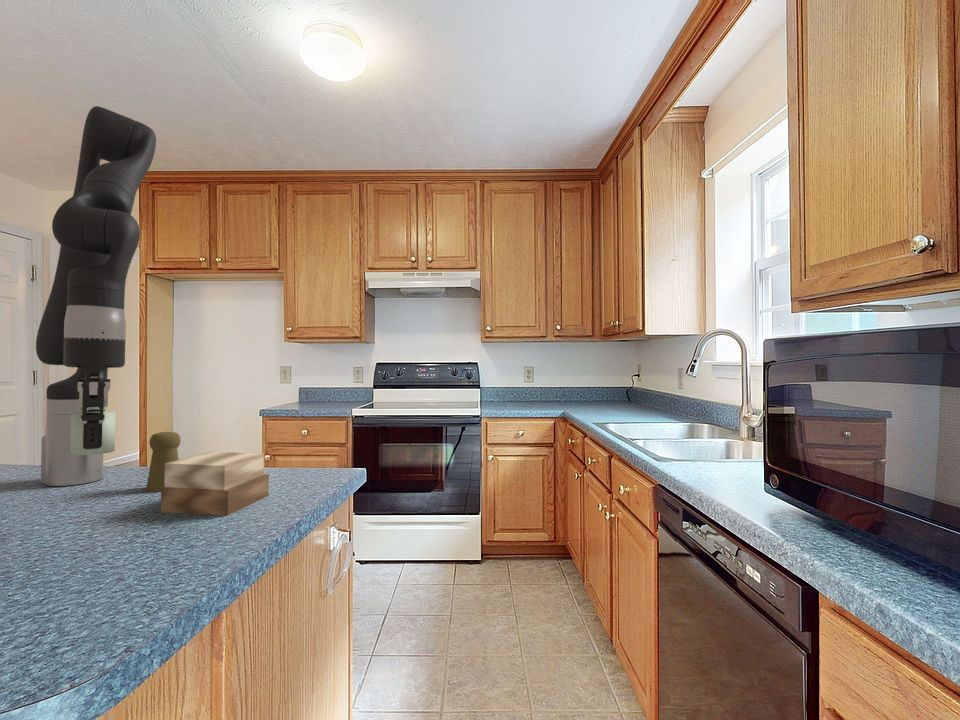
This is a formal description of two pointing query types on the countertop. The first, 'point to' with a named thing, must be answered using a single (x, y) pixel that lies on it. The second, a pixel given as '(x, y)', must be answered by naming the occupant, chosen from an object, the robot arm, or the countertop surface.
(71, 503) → the countertop surface
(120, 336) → the robot arm
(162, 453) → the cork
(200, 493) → the tower base
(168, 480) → the tower top
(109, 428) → the pale green cylinder
